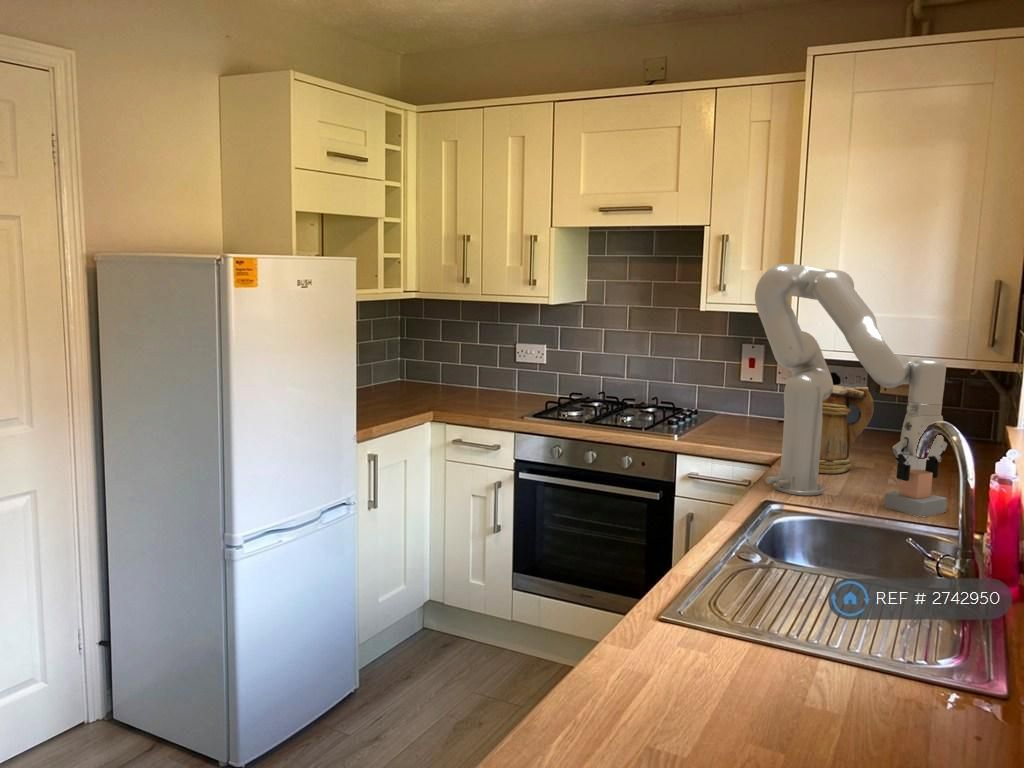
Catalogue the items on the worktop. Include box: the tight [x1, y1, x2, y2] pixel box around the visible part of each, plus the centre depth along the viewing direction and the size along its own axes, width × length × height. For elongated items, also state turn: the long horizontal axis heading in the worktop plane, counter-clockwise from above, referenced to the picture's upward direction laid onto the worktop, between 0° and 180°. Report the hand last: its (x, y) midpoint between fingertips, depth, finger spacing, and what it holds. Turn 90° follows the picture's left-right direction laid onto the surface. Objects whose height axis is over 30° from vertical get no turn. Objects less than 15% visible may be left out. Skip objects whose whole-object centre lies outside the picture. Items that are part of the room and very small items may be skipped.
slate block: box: [883, 490, 948, 518], centre depth 208 cm, size 10×10×4 cm
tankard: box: [818, 384, 875, 475], centre depth 248 cm, size 18×24×25 cm
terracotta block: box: [898, 469, 933, 499], centre depth 208 cm, size 5×5×6 cm
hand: (916, 478), depth 208 cm, fingers open, 9 cm apart
